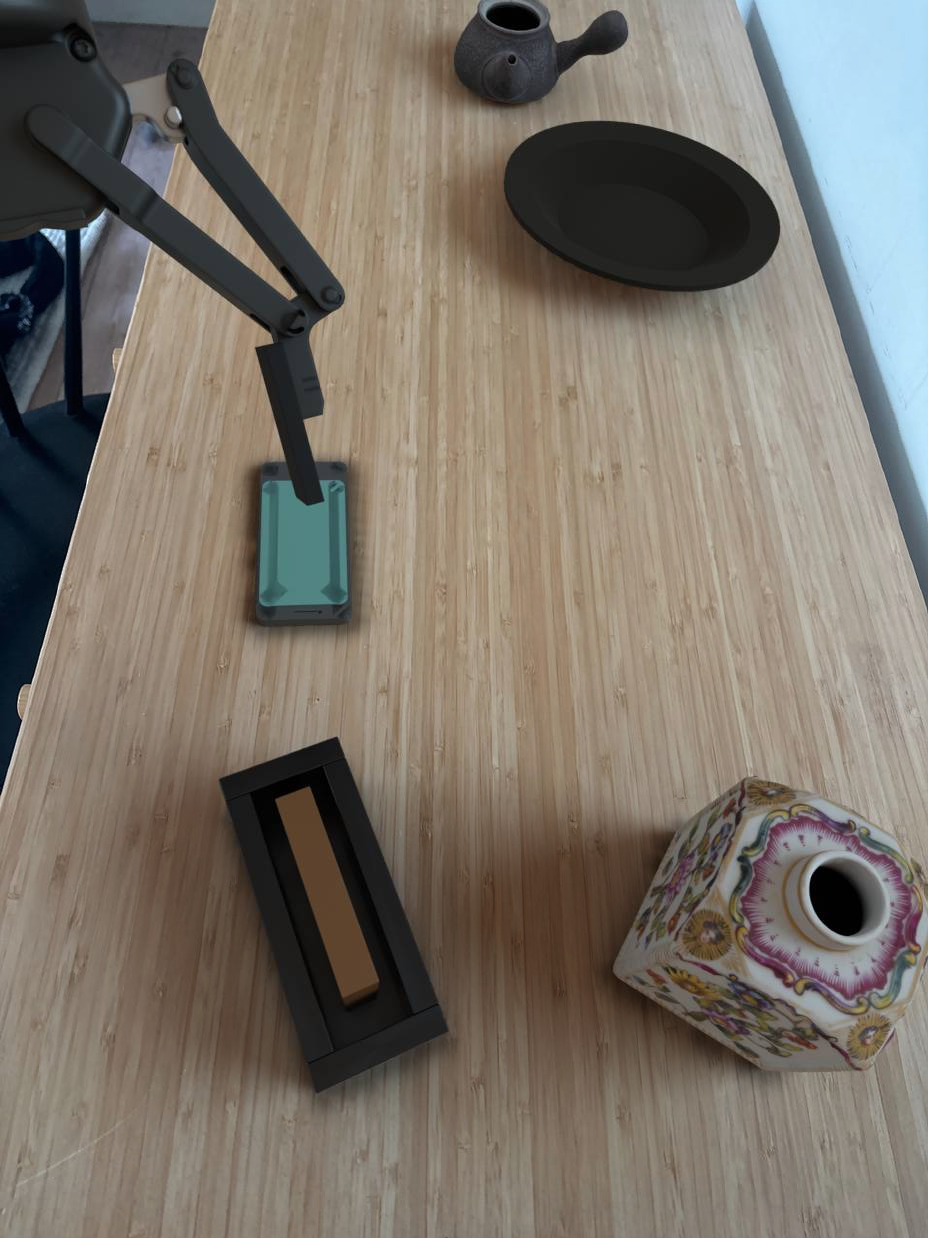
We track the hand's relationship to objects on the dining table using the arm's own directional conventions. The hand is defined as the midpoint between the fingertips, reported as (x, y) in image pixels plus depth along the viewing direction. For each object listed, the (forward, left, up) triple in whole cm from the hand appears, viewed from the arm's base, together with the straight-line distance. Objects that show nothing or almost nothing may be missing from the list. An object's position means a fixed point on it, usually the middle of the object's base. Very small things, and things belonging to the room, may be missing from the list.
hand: (150, 543), depth 36 cm
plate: (-43, +51, -29) cm, 73 cm away
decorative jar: (+22, +27, -29) cm, 46 cm away
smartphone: (-17, +9, -29) cm, 35 cm away
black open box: (+12, +3, -29) cm, 32 cm away
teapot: (-70, +51, -29) cm, 91 cm away
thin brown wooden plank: (+12, +3, -28) cm, 31 cm away
